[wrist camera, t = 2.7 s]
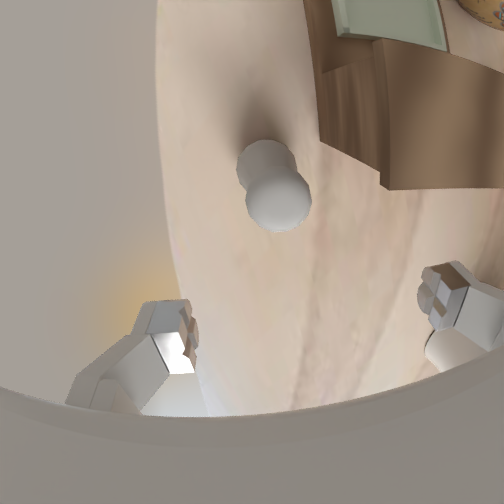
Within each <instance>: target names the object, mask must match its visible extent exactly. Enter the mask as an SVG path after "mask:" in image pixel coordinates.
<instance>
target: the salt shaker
mask: <svg viewBox="0 0 504 504" xmlns="http://www.w3.org/2000/svg"><path fill="white" fill-rule="evenodd" d="M236 171H237V175H238V179H239V182H240V184H241V185H242V186H243V187H244V189H245V190H246V191H247V194H246V199H245V202H246V205H247V209H248V213H249V215H250V217H251V218H252V219H253V220H254V221H255V222H256V223H257V224H258V225H259V226H260V227H261V228H264V229H266V230H269V231H271V232H286V231H289V230H291V229H293V228H295V227H297V226H299V225H300V224H301V223H302V222H303V221H304V219H305V218H306V217H307V216H308V214H309V211H310V207H311V204H312V199H311V194H310V190H309V185H308V184H307V183H306V181H305V180H304V179H303V177H302V176H301V175H300V174H299V173H298V172H297V166H296V161H295V157H294V155H293V154H292V152H291V151H290V150H289V149H288V147H287V146H286V145H284V144H282V143H279V142H277V141H275V140H258V141H256V142H254V143H252V144H250V145H249V146H247V147H246V148H245V149H244V151H243V152H242V153H241V154H240V156H239V157H238V162H237V168H236Z"/></svg>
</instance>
